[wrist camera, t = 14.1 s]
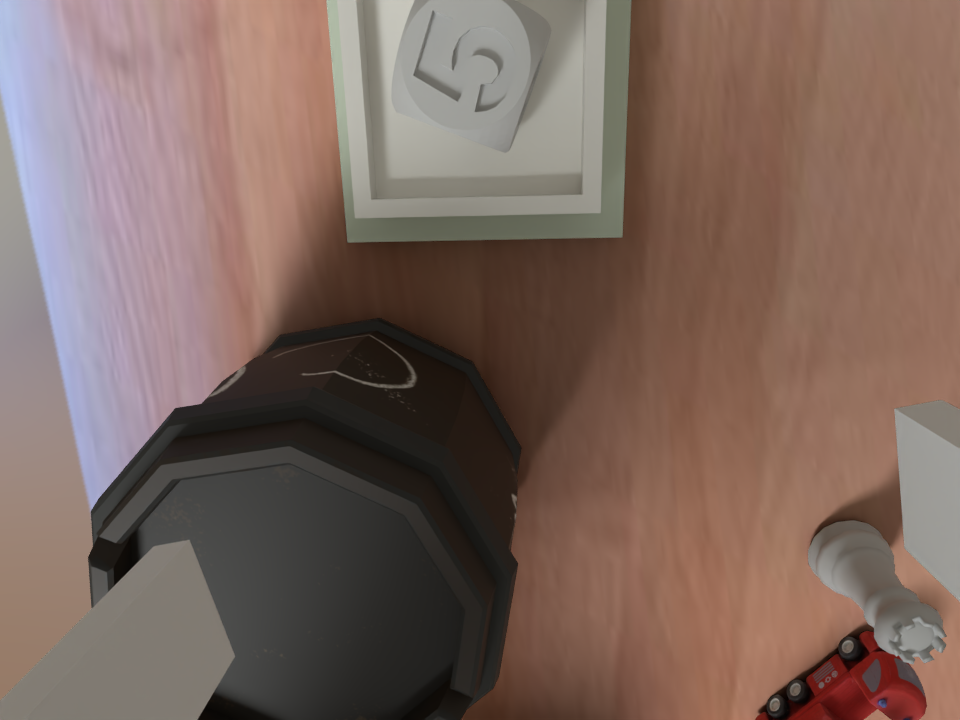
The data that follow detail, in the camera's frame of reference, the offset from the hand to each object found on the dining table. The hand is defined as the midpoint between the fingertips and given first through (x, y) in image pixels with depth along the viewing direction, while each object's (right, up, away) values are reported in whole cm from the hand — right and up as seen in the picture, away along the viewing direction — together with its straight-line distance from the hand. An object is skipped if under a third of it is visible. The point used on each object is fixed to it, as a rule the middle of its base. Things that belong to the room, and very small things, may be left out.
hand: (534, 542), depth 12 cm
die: (-1, +16, +16) cm, 23 cm away
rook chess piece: (+21, -8, +27) cm, 35 cm away
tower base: (-1, +17, +22) cm, 28 cm away
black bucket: (-8, -2, +28) cm, 29 cm away
